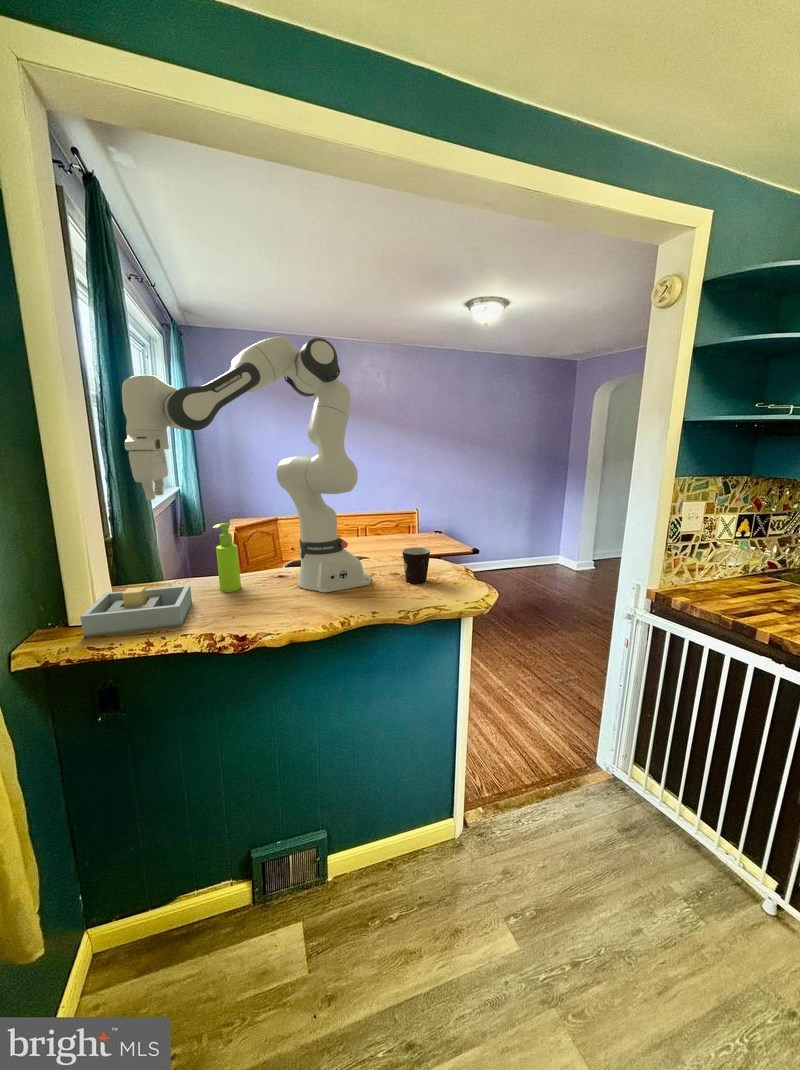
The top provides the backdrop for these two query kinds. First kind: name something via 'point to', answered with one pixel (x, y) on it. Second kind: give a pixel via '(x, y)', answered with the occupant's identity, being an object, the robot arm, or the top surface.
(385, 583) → the top surface
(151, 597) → the caddy
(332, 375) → the robot arm
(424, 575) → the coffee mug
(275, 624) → the top surface
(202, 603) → the top surface
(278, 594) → the top surface
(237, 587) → the soap dispenser
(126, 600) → the connector
